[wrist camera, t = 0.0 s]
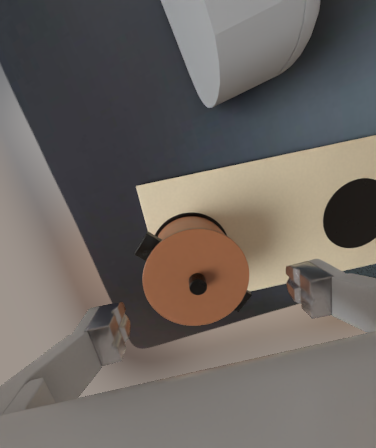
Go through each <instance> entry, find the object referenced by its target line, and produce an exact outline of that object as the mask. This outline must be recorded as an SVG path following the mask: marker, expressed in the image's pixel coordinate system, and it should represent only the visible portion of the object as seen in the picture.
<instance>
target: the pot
mask: <svg viewBox="0 0 376 448" xmlns="http://www.w3.org/2000/svg"><path fill="white" fill-rule="evenodd" d="M134 255H136V256H138V257H140V258H142V259H143V260H145V261H146V264H145V266H144V271H143V288H144V292H145V295H146V297H147V299H148V301H149V303H150V304H151V306H152V307H153V308H154V309H155V310H156V311H157V312H158V313H159V314H160V315H162V316H163V317H164V318H166V319H168V320H170V321H172V322H175V323H178V324H182V325H191V326H197V325H205V324H209V323H213V322H215V321H218V320H220V319H222V318H224V317H225V316H227V315H228V314H230V313H231V312H232V311H233V310H235V311H237V312H239V311H240V310H241V308H242V307H243V306H244V305H245V303H246V302H247V301H248V300H249V298H250V297H251V296H252V295H251V293H250V292H249V291H248V290H247V288H248V284H249V266H248V262H247V259H246V257H245V255H244V253H243V251H242V250H241V249H240V247H239V246H238V245H237V244H236V243H235V242H234V241H233V240H232V239H231V238H229V237H228V236H226V235H225V234H224V233H223V232H222V231H221V229H220V228H219V227H218V226H217V225H216V224H214V223H213V222H211V221H209V220H207V219H205V218H201V217H196V216H188V217H182V218H179V219H176V220H174V221H172V222H171V223H169V224H168V225H167V226H165V227H164V228H163V229H162V231H161V232H160V233H159V235H158V237H157V236H155V235H153V234H152V233H150V232H147V234H146V235H145V237H144V238H143V240H142V242H141V243H140V245H139V246H138V248H137V250H136V251H135V253H134Z"/></svg>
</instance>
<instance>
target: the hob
mask: <svg viewBox="0 0 376 448" xmlns="http://www.w3.org/2000/svg"><path fill="white" fill-rule="evenodd" d="M361 178H370V179H374V180H376V135H374V136H369V137H365V138H360V139H355V140H351V141H346V142H341V143H336V144H332V145H327V146H322V147H318V148H313V149H308V150H303V151H299V152H294V153H289V154H285V155H280V156H275V157H271V158H266V159H261V160H256V161H252V162H247V163H242V164H238V165H233V166H228V167H223V168H219V169H214V170H209V171H205V172H200V173H195V174H190V175H186V176H181V177H176V178H172V179H167V180H162V181H157V182H153V183H148V184H143V185H139V186H136V189H137V192H138V196H139V200H140V203H141V207H142V211H143V214H144V218H145V222H146V226H147V229H148V232H150V233H152V234H153V235H155V234H156V232H157V230H158V229H159V228H160V226H161V225H162V224H163V223H164V222H166V221H167V220H168V219H170V218H172V217H174V216H176V215H179V214H182V213H190V212H194V213H201V214H204V215H207V216H209V217H211V218H213V219H214V220H216V221H217V222H218V223H219V224H220V225H221V226H222V227H223V229H224V230H225V232H226V234H227V236H228V237H229V238H231V239H232V240H233V241H234V242H235V243H236V244H237V245H238V246H239V247H240V249H241V250H242V251H243V253H244V255H245V257H246V259H247V262H248V266H249V284H248V288H247V290H248V291H254V290H258V289H263V288H267V287H272V286H276V285H281V284H285V283H287V280H288V279H289V277H288V276H287V275H286V266H289V265H293V264H297V263H301V262H305V261H309V260H313V259H321V260H322V261H324V262H326V263H328V264H330V265H332V266H333V267H335V268H337V269H339V270H341V271H344V270H349V269H354V268H358V267H363V266H367V265H372V264H376V238H375V239H374V240H372V241H371V242H369V243H367V244H365V245H363V246H360V247H357V248H342V247H339V246H337V245H335V244H333V243H332V242H331V241H330V240H329V239H328V237H327V236H326V234H325V231H324V227H323V216H324V211H325V208H326V206H327V203H328V202H329V200H330V198H331V197H332V196H333V194H334V193H335V192H336V191H337V190H338V189H339V188H341V187H342V186H343V185H345V184H347V183H348V182H351V181H353V180H356V179H361Z"/></svg>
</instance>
